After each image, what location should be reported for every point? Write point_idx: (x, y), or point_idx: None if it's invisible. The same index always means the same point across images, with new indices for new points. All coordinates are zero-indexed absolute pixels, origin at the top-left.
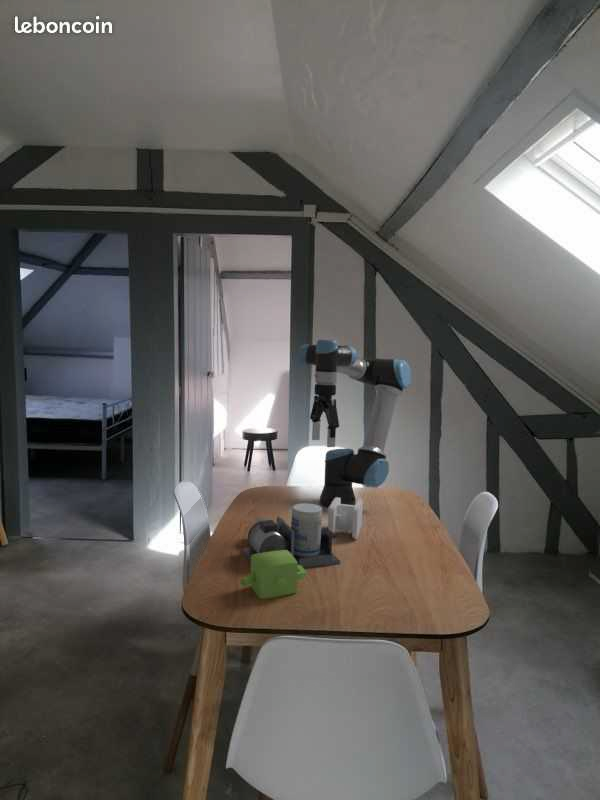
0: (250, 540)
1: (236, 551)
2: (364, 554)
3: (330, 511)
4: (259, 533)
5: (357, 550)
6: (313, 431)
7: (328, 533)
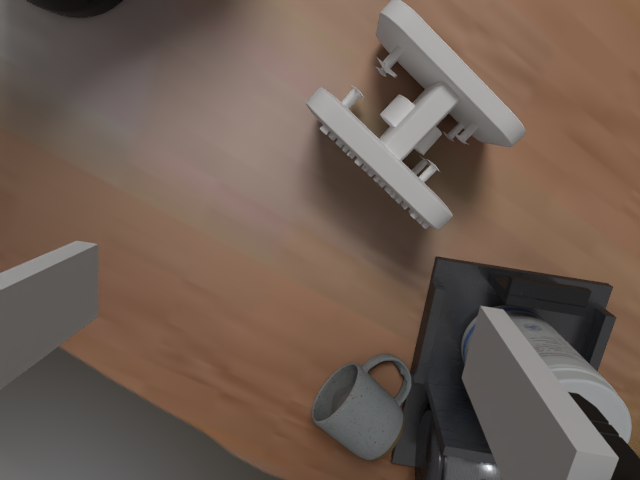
0: None
1: (384, 468)
2: (594, 173)
3: (442, 225)
4: None
5: (554, 174)
6: (33, 360)
7: (561, 305)
